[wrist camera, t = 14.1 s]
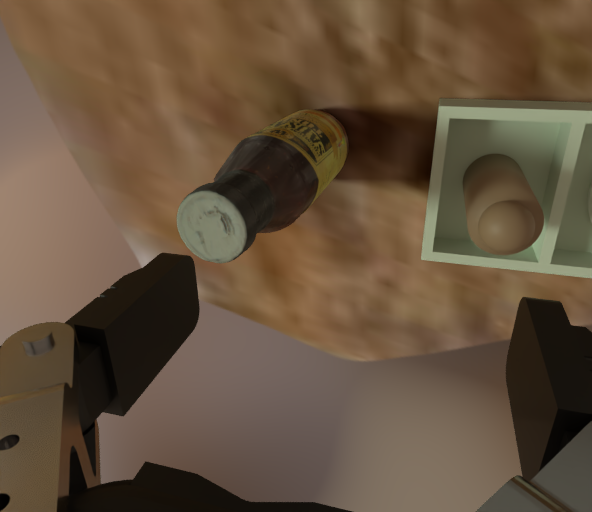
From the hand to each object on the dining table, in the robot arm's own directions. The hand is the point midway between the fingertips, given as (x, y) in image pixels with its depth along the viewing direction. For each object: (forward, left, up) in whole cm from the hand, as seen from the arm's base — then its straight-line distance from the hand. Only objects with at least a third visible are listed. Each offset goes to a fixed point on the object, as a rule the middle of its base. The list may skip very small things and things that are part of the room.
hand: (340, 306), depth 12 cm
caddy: (+5, +11, -30) cm, 32 cm away
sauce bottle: (+3, -8, -30) cm, 31 cm away
